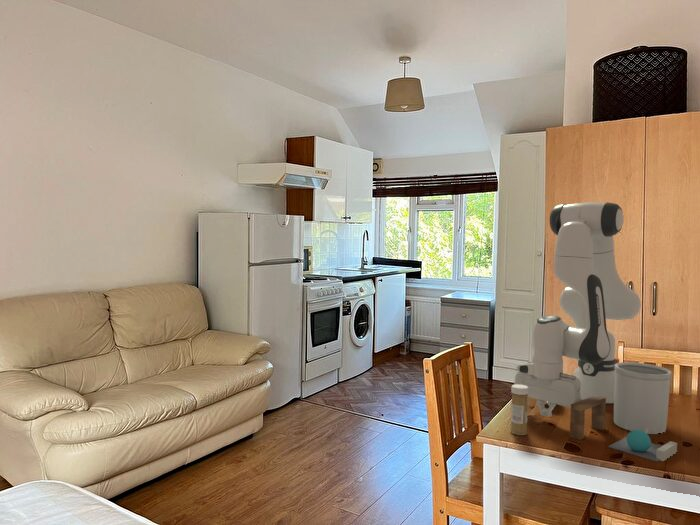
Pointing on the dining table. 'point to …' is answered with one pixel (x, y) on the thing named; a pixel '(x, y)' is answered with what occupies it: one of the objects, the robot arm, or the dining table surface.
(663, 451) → the stopper wall
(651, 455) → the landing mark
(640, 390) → the utensil holder
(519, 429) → the sprinkles bottle
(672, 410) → the dining table surface
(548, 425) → the dining table surface
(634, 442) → the ball
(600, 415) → the bridge
